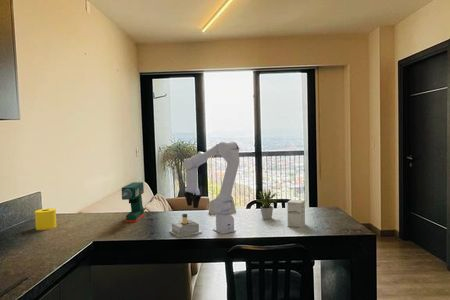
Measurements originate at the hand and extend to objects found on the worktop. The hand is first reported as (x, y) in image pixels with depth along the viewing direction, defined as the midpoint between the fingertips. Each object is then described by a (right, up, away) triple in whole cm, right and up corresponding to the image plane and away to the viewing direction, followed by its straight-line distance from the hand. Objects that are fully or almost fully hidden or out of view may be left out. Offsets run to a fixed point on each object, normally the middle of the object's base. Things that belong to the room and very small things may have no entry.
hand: (192, 206), depth 183 cm
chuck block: (-2, -11, -13) cm, 17 cm away
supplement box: (+54, -9, -6) cm, 55 cm away
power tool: (-35, -11, +14) cm, 40 cm away
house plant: (+41, -8, +10) cm, 43 cm away
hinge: (+15, -9, +29) cm, 34 cm away
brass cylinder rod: (-2, -10, -13) cm, 16 cm away
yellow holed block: (-80, -12, +6) cm, 81 cm away
